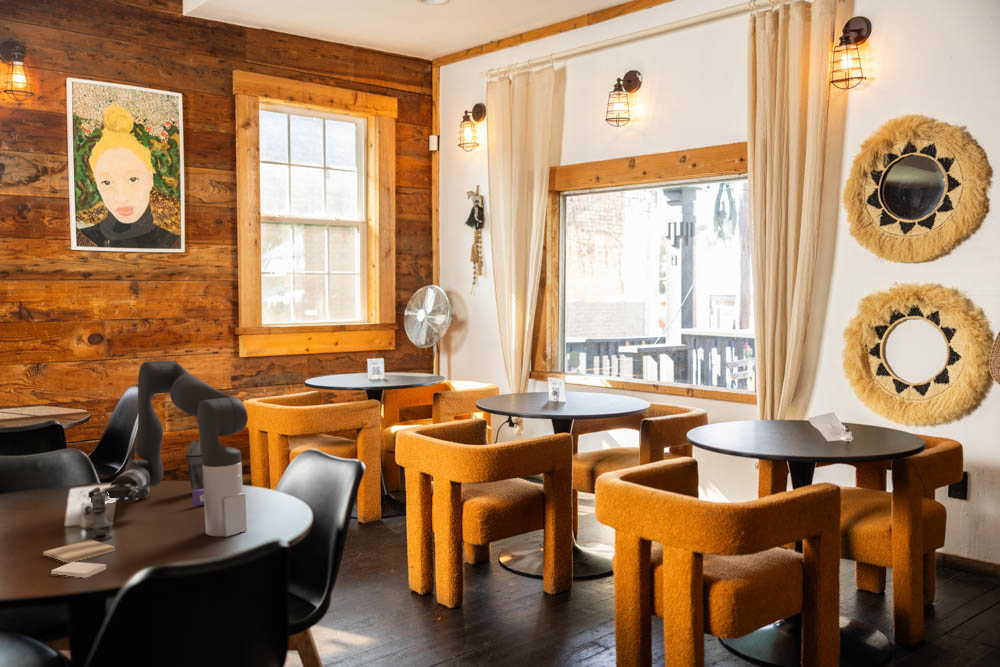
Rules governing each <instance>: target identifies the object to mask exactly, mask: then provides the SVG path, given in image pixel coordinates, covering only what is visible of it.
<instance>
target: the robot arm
mask: <svg viewBox="0 0 1000 667" xmlns="http://www.w3.org/2000/svg"><path fill="white" fill-rule="evenodd" d="M156 394H170V400H171V401H172V403H173V405H174V406H175V407H176V408H178V409H179V410H181V412H183V413H186V414H187V415H190V416H194V417H197V426H198V435H199V436H198V437H199V438H200V449H201V455H202V464H203V465H202V466H203V487H204V504H203V505H204V506H203V507H204V521H205V522H204V523H205V534H206V535H207V536H211V537H230V536H234V535H237V534H240V532H241V533H243V532H244V533H245V532H246V531H248V526H247V525H248V523H247V522H248V521H247V505H246V503H247V502H246V494H245V492H244V491H243V490H244V489H243V488H244V487H243V486H244V485H243V468H242V467H243V466H242V465H243V464H242V463H243V462H242V453H241V450H240V449H238V448H235V447H229V446H226V445H224V444H221V442H220V439H219V437H222V436H229V435H234V434H235V435H236V434H238V433H240V432H242V431H243V430H244V429H245V427H246V426H247V425H248V418H249V415H248V411H247V408H246V406H245V404H244V403H243V401H241V399H239V398H238V397H236V396H233V395H231V394H230V395H229V394H227V393H224V392H222V391H220V390H218V389H217V388H215V387H214V386H211V385H209V384H208V383H206V382H205V381H203V380H202V379H200V378H198V377H196V376H194V375H192V374H191V373H189V372H188V371H187V370H186V369H185V368H184V367H183V366H182V365H181V364H180V363H178V361H175V360H150V361H144V362H143V363H141V365H140V367H139V370H138V377H137V417H138V418H137V420H138V423H137V432H136V438H135V445H134V453H135V456H137V457H138V458H140V459H137V458H135V459H131V460H130V461H128V462H127V464H126V466H125V469H124V471H123V473H121V474H119V475H118V476H117V477H115V479H114V480H112V482H111V484H110V486H108V487H103V488H102V489H101V487H100V486H97V487H95V488H93V489H92V490H90V491H88V492H87V493H88V498H89V497H90V498H91V502H90V503H91V504H92V497H93V496H94V495H96V494H97V491H99V494H102V495H104V497H105V501H108V500H110V499H108V498H116V500H115V501H117V502H119V503H122V504H125V503H133V501H137V500H139V498H141V499H143V500H144V499H147V497H149V495H150V493H151V492H150V487H152V488H153V487H157V486H158V485H160V483H161V482H162V481H163V478H164V466H163V465H164V464H163V462H162V453H161V450H162V445H163V437H164V428H163V424H162V422H161V420H160V418H159V416H158V414H157V413H156V411H155V410H154V407H153V405H152V395H156ZM199 438H198V439H199ZM101 490H102V491H101ZM107 492H108V493H109V495H108V493H107ZM94 493H95V494H94ZM108 496H109V497H108ZM108 502H109V501H108Z"/></svg>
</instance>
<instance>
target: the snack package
mask: <svg viewBox="0 0 1000 667" xmlns="http://www.w3.org/2000/svg"><path fill="white" fill-rule="evenodd" d="M191 493H192V494H191V495H192V508H197V507H199V506H201V505H202V506H203V505H204V489H199V490H192V489H191ZM196 506H197V507H196Z"/></svg>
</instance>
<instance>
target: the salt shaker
mask: <svg viewBox="0 0 1000 667" xmlns="http://www.w3.org/2000/svg"><path fill="white" fill-rule="evenodd" d="M91 504H92V506H91V507H92V509H90V511H91V513H92V520H91V523H89V524H87V525H86V528H87V530H88V533H89V534H90V535H92V537H90V538H89V539H88V540H94V541H97V542H101V543H103V542H106V541H109V540H112V539H113V538H114V537H113V536H112V535H110V534H109V533H110V531H111V530H112V528H113V524H114V522H113V521H111V520H110V521H109V520H108V518H107V510H108V507H107V506H106V502H105V497H104V495H102V494H99V491H97V494H96V495H94V496H93V497H92V503H91Z"/></svg>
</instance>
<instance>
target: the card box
mask: <svg viewBox="0 0 1000 667" xmlns="http://www.w3.org/2000/svg"><path fill="white" fill-rule="evenodd" d="M106 570H107V564H104V563H95V562H80V561H77V562H71V563H68V564H67V563H65V564H64V565H61V566H60V567H59V566H58V567H57V568H54V569H51V575H52V574H58V575H67V576H66V577H68V576H75V577H74V578H79V577H82V578H81V579H87V578H89V577H91V576H94V575H96V574H98V573H100V572H103V571H106ZM86 577H87V578H86Z"/></svg>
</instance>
